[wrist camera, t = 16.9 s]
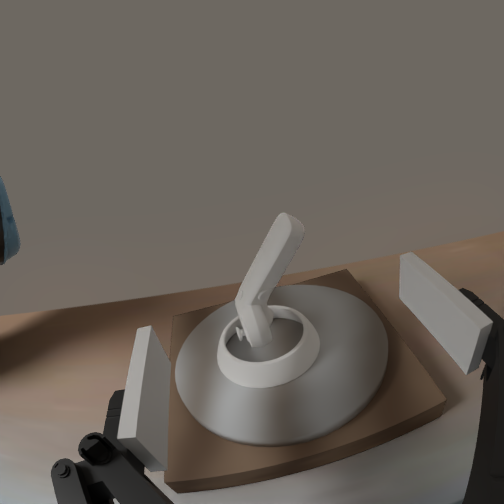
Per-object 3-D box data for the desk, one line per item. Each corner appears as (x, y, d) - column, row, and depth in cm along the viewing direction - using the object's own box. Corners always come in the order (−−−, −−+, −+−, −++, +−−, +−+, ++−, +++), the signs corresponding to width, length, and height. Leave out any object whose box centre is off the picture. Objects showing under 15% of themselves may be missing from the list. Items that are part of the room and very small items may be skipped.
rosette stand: (177, 493, 16) (157, 476, 15) (180, 330, 32) (169, 308, 31) (440, 416, 17) (450, 390, 15) (347, 285, 33) (345, 260, 31)
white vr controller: (404, 285, 17) (318, 265, 14) (304, 403, 23) (221, 408, 19) (343, 221, 23) (264, 193, 20) (272, 334, 28) (199, 327, 25)
